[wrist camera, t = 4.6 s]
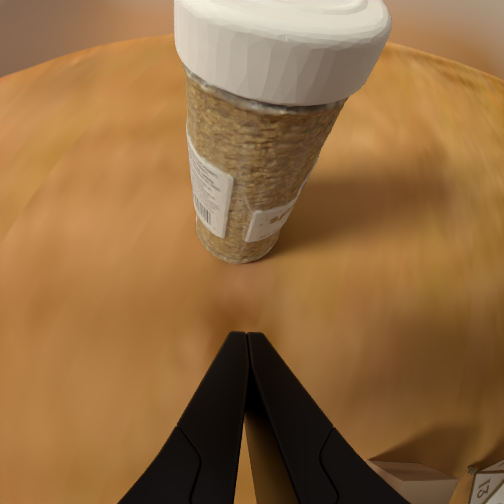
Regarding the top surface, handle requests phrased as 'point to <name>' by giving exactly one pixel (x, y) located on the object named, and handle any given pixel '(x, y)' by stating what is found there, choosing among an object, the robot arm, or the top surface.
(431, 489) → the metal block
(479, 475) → the game die
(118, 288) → the top surface
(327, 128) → the sprinkles bottle
